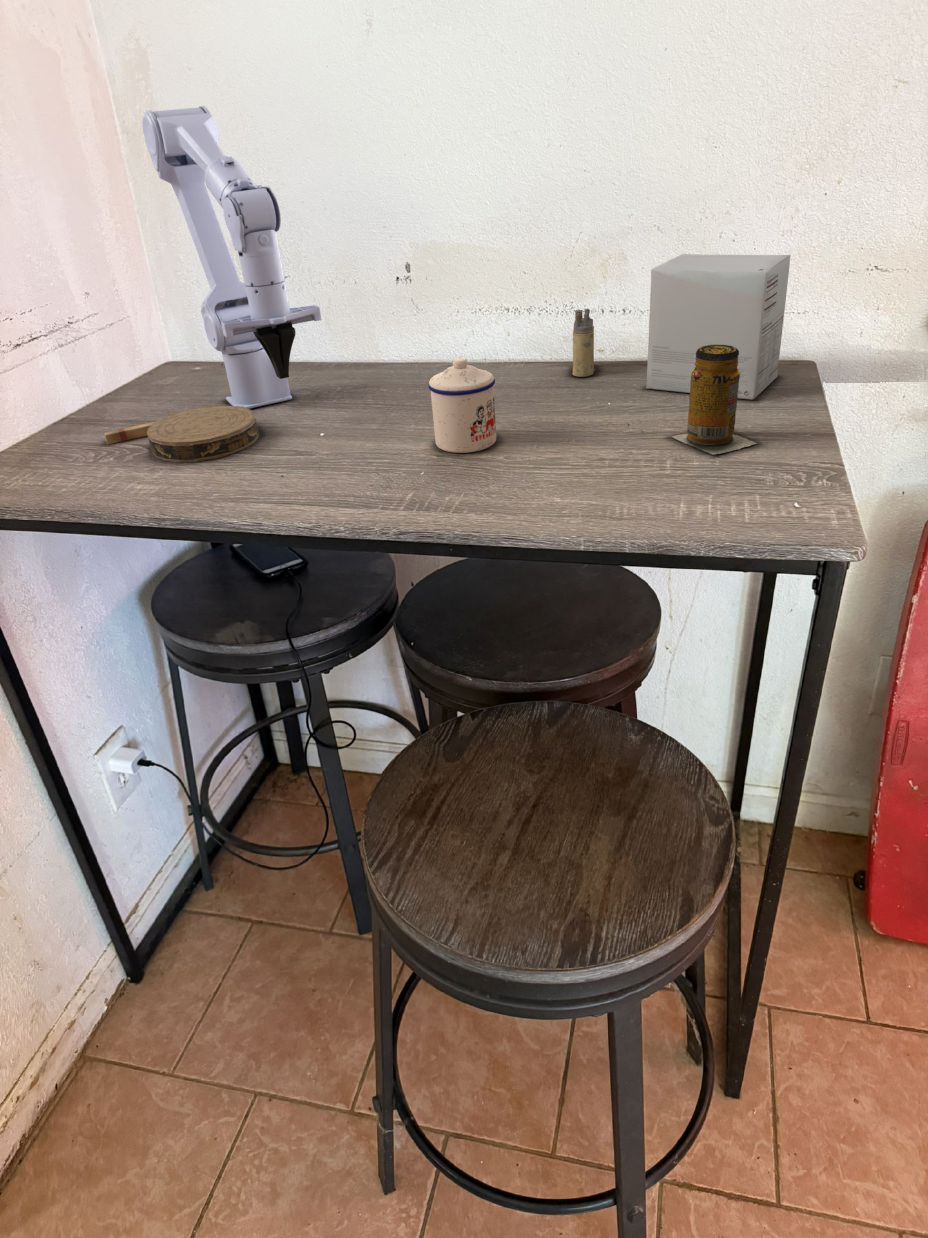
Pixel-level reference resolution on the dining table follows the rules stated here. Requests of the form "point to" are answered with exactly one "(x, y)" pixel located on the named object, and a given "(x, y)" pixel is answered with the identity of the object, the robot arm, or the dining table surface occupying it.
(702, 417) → the condiment
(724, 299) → the supplement box
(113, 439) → the rail
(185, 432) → the tin can
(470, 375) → the teacup with lid
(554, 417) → the dining table surface
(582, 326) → the lighter
